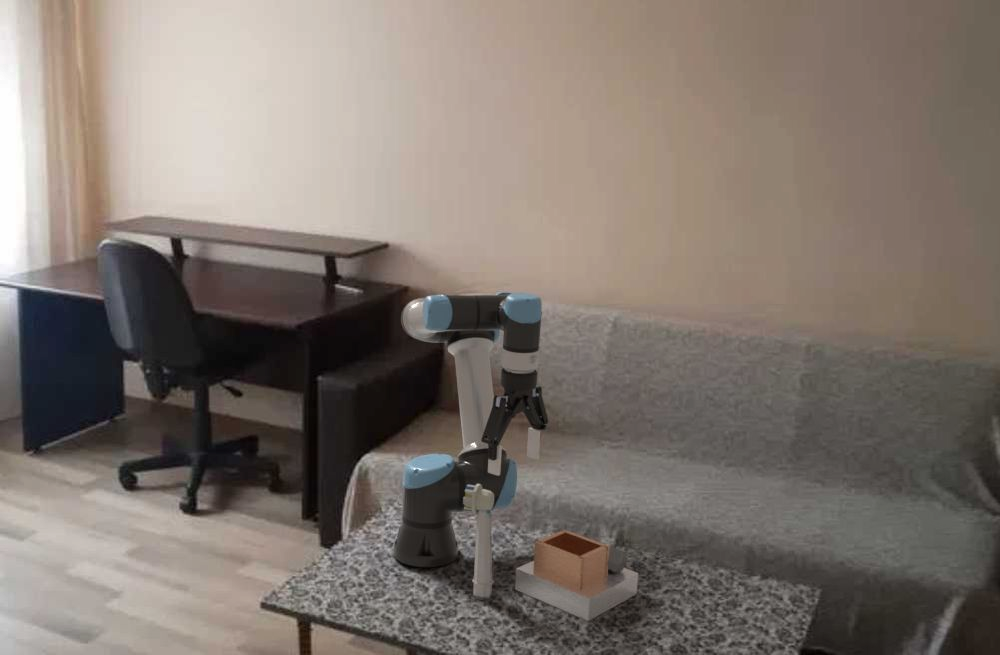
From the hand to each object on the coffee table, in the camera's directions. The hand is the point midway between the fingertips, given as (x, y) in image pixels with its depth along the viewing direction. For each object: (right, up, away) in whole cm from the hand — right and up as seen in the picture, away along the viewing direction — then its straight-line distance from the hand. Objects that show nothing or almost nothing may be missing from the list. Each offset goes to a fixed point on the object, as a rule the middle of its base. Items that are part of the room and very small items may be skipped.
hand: (513, 465), depth 217 cm
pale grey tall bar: (-8, -29, +6) cm, 31 cm away
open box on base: (+14, -29, +9) cm, 34 cm away
